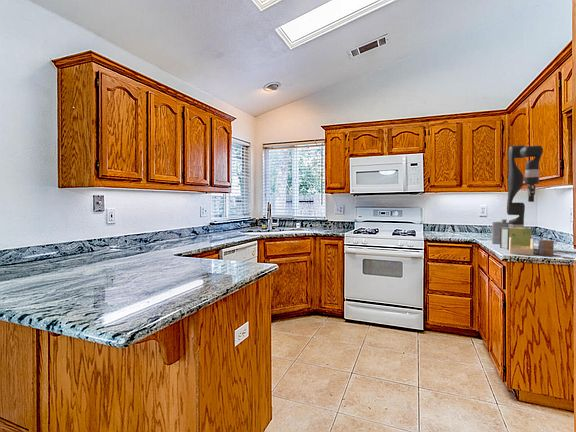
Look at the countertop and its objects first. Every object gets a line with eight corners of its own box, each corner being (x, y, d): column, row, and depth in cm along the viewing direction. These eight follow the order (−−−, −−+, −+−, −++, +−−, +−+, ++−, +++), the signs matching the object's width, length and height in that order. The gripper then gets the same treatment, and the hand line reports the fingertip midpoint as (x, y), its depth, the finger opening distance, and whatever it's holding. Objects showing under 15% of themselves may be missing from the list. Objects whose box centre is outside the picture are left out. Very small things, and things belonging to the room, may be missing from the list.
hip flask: (515, 245, 257) (516, 219, 256) (515, 245, 254) (516, 219, 253) (492, 243, 268) (492, 218, 267) (491, 243, 265) (492, 219, 264)
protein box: (531, 250, 228) (532, 228, 227) (508, 250, 228) (509, 228, 227) (520, 248, 238) (521, 227, 238) (499, 248, 239) (499, 227, 238)
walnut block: (538, 253, 212) (538, 239, 212) (552, 254, 209) (552, 240, 208) (539, 254, 208) (539, 240, 208) (553, 255, 204) (553, 241, 204)
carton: (508, 251, 224) (509, 237, 224) (531, 253, 218) (531, 238, 217) (509, 254, 213) (510, 239, 212) (533, 256, 206) (533, 240, 206)
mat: (535, 253, 215) (535, 252, 215) (553, 255, 210) (553, 254, 210) (537, 256, 206) (537, 255, 206) (556, 257, 202) (556, 256, 202)
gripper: (523, 177, 222) (523, 201, 223) (525, 176, 210) (524, 201, 211) (537, 177, 218) (536, 201, 219) (540, 175, 206) (539, 201, 207)
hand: (531, 201), depth 215 cm, fingers open, 8 cm apart
